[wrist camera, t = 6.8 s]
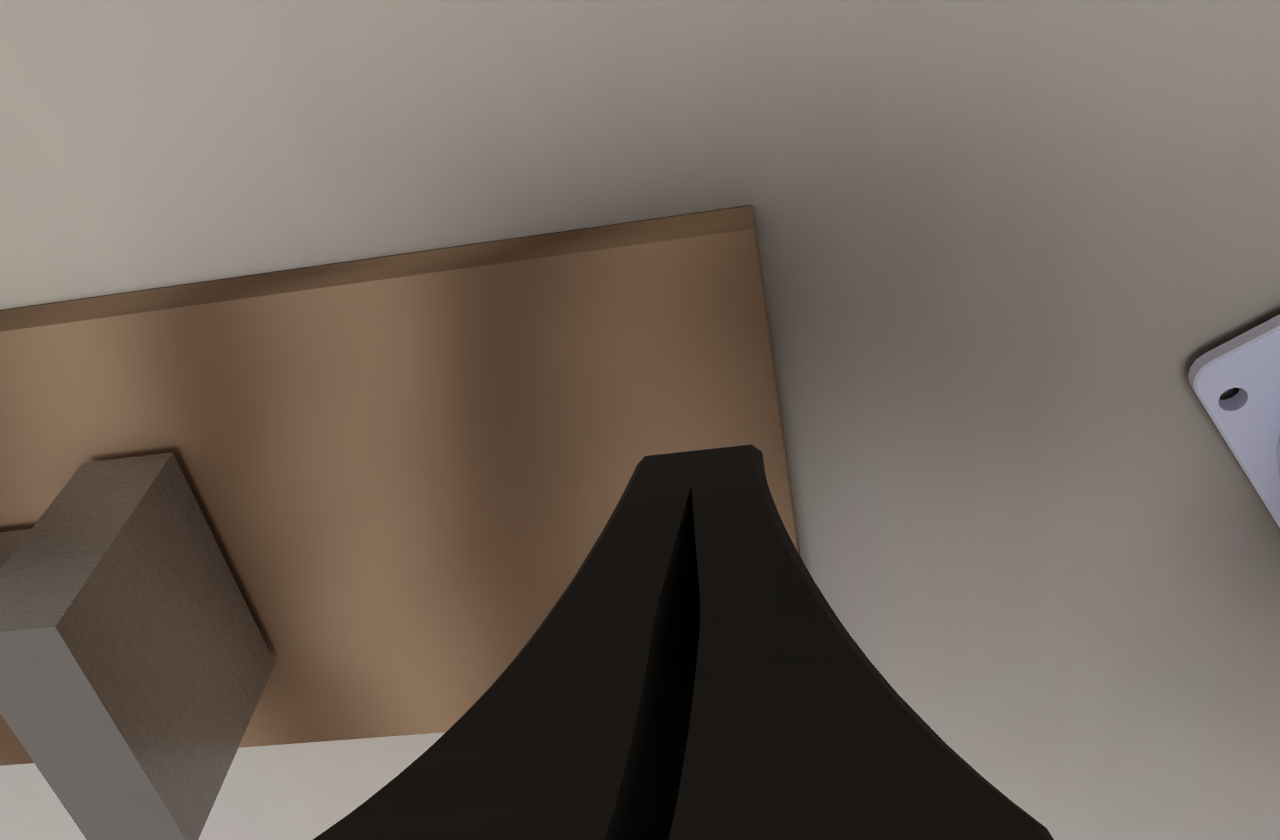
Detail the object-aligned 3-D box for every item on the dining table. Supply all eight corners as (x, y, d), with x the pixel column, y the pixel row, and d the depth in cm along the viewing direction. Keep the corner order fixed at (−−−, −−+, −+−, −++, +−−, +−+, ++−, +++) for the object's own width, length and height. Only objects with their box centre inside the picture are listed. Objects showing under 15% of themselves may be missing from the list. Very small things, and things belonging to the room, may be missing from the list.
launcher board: (752, 205, 21) (753, 228, 21) (815, 672, 28) (818, 703, 27) (-334, 356, 25) (-371, 382, 24) (-53, 740, 31) (-74, 771, 31)
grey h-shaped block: (172, 452, 24) (55, 626, 20) (275, 663, 27) (193, 851, 23) (-175, 493, 25) (-355, 665, 21) (-38, 690, 28) (-169, 873, 24)
